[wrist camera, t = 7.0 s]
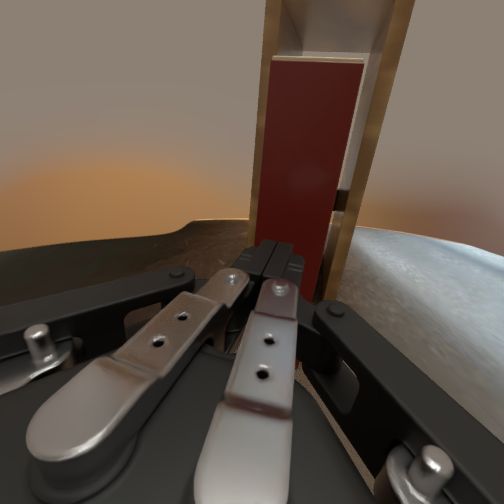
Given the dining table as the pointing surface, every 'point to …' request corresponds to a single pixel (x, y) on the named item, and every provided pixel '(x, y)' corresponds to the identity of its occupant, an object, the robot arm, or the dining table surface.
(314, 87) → the hardcover
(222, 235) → the dining table surface
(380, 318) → the dining table surface
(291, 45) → the wooden frame
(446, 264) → the dining table surface
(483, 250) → the dining table surface
